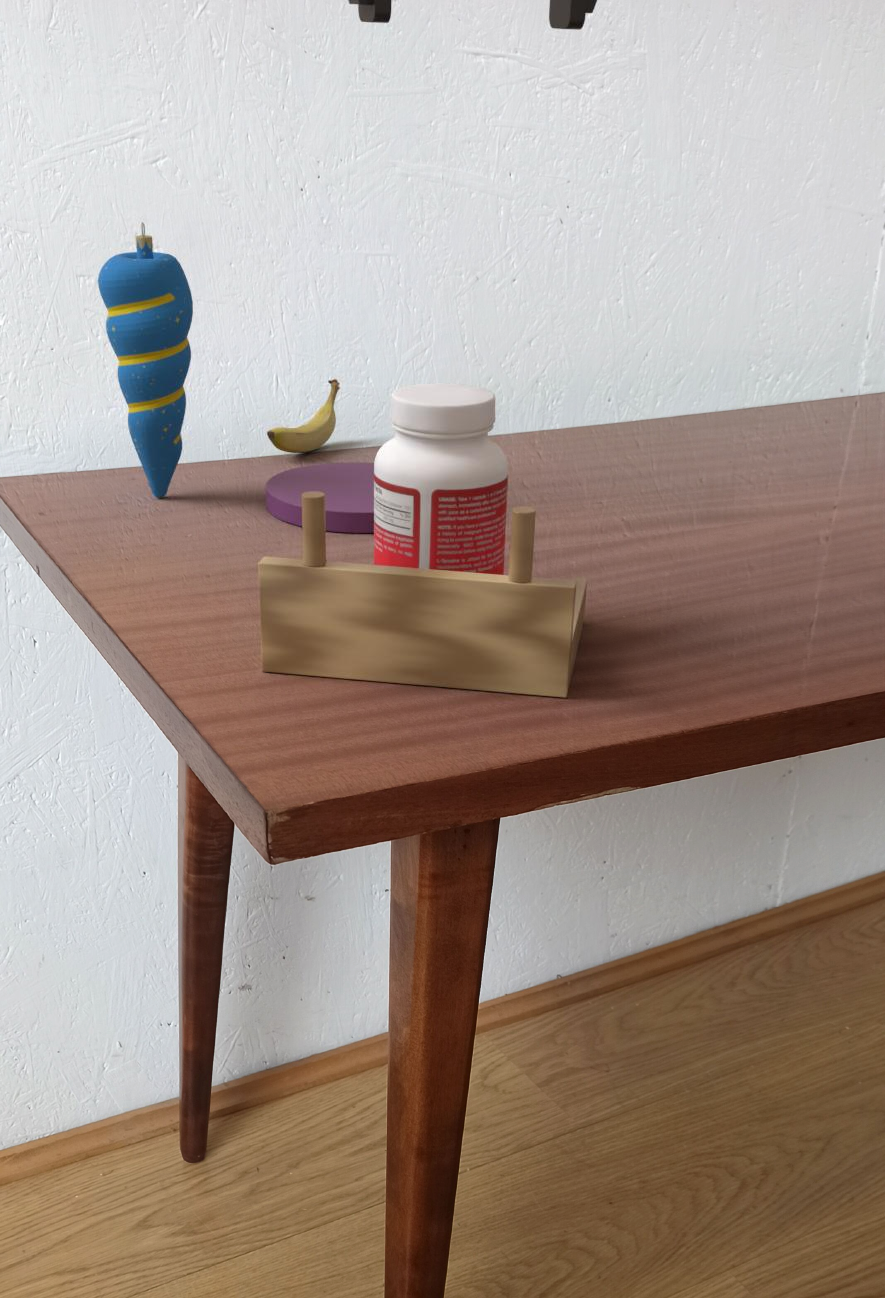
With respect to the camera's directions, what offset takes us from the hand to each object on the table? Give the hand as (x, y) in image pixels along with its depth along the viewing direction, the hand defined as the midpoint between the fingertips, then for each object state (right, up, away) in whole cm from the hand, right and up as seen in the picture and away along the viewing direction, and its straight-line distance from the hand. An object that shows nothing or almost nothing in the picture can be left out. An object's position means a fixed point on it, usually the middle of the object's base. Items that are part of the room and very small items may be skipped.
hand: (472, 25), depth 63 cm
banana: (-10, -5, +39) cm, 41 cm away
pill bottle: (-2, -23, +11) cm, 25 cm away
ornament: (-18, -11, +29) cm, 36 cm away
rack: (-2, -24, +9) cm, 26 cm away
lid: (-6, -11, +28) cm, 31 cm away
